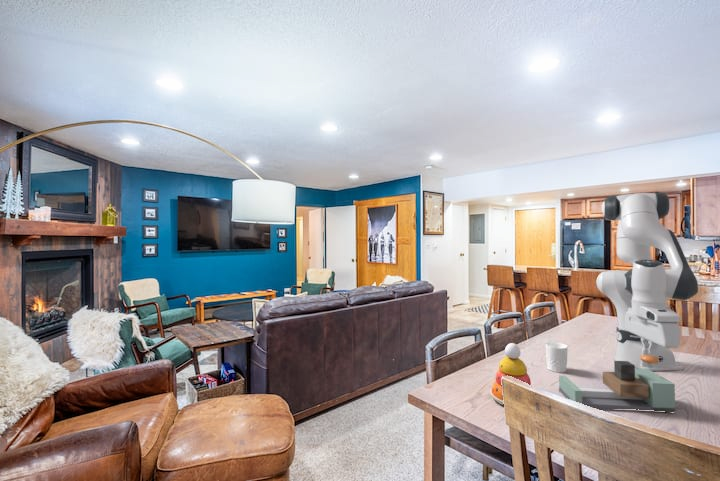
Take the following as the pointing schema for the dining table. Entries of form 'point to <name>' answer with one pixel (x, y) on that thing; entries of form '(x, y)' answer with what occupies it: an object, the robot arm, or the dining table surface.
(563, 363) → the white cup
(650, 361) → the gauge button
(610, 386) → the carriage
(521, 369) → the stacking toy
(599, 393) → the rail base
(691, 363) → the dining table surface
